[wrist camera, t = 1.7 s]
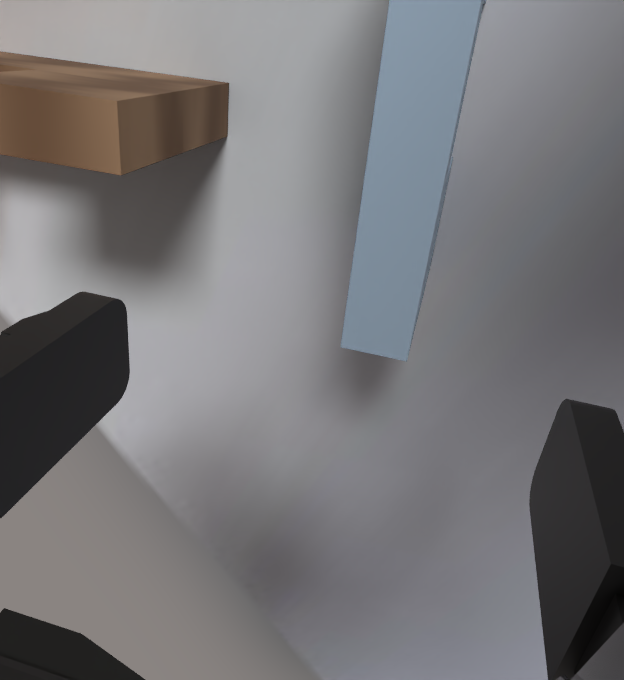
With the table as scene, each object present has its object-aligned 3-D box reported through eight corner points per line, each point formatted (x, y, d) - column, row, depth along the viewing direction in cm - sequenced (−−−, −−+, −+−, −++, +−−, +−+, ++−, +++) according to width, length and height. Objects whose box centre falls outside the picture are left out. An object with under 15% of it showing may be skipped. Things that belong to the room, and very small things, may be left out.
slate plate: (454, -175, 18) (433, -313, 11) (522, -171, 17) (546, -312, 10) (381, 260, 24) (340, 347, 17) (429, 269, 24) (406, 361, 17)
